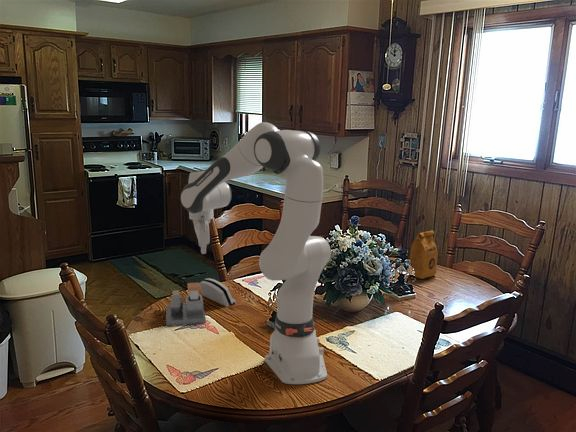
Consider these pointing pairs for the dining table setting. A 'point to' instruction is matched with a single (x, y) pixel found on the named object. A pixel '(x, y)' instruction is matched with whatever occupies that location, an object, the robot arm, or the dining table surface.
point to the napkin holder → (216, 292)
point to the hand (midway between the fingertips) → (202, 249)
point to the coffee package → (424, 255)
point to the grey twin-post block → (184, 310)
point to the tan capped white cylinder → (193, 291)
